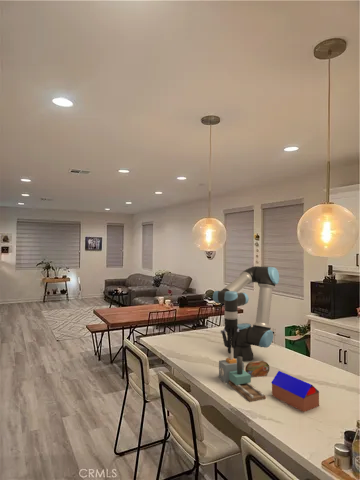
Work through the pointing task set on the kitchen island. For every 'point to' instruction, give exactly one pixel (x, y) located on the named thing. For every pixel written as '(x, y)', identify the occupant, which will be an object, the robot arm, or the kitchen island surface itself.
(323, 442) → the kitchen island surface
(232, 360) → the button
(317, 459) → the kitchen island surface
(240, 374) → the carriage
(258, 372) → the tin
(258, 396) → the rail bed
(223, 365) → the cabinet
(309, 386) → the house
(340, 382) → the kitchen island surface
